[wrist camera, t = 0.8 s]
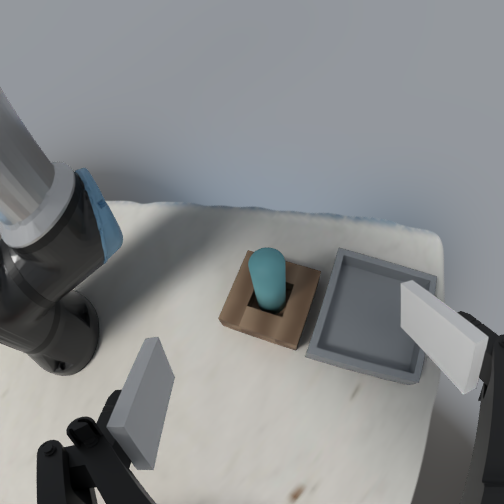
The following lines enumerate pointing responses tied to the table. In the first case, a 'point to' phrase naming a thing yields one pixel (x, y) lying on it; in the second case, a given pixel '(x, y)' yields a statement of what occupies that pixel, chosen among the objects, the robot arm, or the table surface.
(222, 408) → the table surface
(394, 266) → the tray
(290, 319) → the hole block
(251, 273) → the ball
